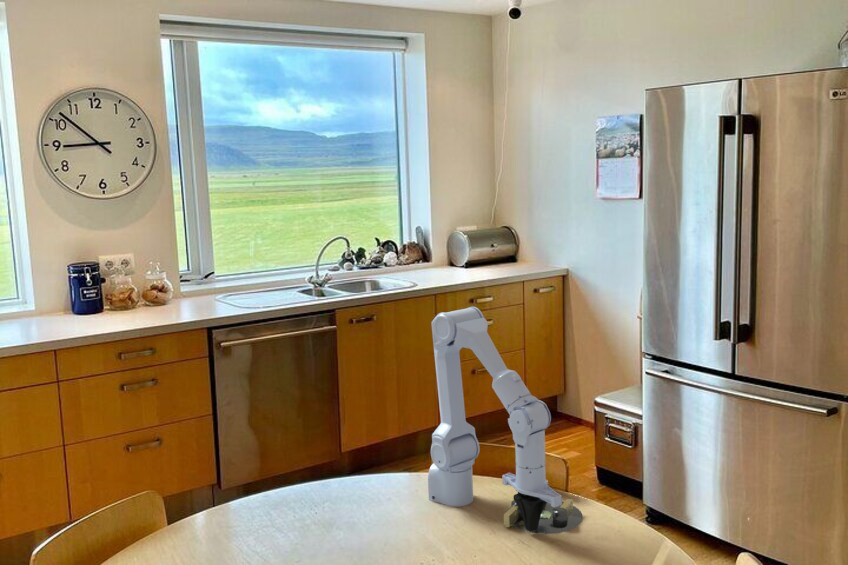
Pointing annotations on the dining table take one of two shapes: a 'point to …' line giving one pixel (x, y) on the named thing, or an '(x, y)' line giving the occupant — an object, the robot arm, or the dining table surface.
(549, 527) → the base plate
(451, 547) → the dining table surface
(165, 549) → the dining table surface
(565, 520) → the outer lever
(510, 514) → the inner lever
